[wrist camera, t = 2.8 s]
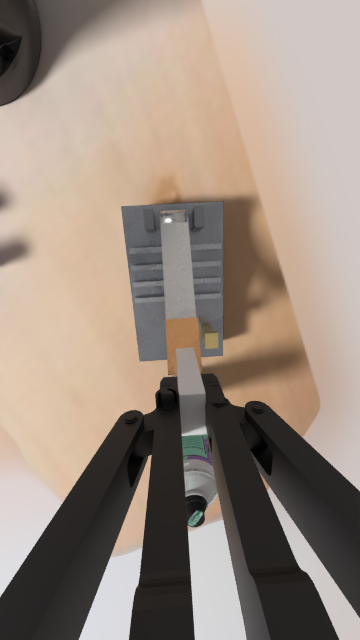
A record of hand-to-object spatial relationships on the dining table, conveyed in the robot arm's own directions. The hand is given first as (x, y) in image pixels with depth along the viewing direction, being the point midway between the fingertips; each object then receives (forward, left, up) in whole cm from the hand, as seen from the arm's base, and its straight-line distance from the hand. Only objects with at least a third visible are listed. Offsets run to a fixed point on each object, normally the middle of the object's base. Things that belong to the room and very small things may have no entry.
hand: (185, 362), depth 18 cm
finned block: (-5, 0, -16) cm, 17 cm away
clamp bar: (-5, 0, -6) cm, 8 cm away
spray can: (+13, 0, -16) cm, 21 cm away
